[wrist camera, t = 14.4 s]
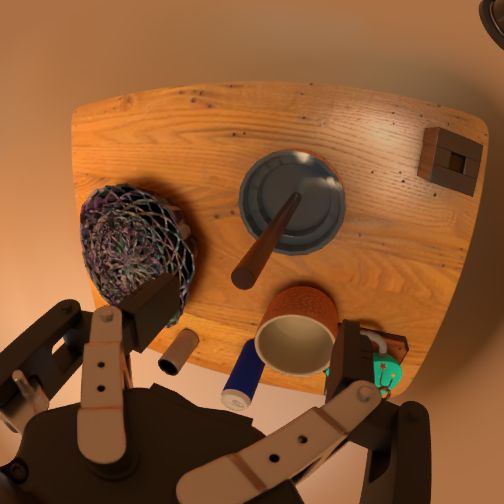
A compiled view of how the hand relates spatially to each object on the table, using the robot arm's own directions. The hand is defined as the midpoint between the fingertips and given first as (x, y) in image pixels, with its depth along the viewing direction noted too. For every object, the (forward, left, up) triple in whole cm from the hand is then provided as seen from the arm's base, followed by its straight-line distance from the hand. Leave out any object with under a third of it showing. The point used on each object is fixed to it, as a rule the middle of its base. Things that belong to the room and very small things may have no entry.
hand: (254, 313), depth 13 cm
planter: (+20, +3, -32) cm, 38 cm away
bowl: (+1, -2, -32) cm, 32 cm away
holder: (-10, +19, -32) cm, 38 cm away
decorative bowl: (+15, -27, -32) cm, 45 cm away
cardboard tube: (+35, -19, -32) cm, 51 cm away
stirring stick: (+1, -2, -31) cm, 31 cm away
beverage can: (+32, -4, -32) cm, 46 cm away
